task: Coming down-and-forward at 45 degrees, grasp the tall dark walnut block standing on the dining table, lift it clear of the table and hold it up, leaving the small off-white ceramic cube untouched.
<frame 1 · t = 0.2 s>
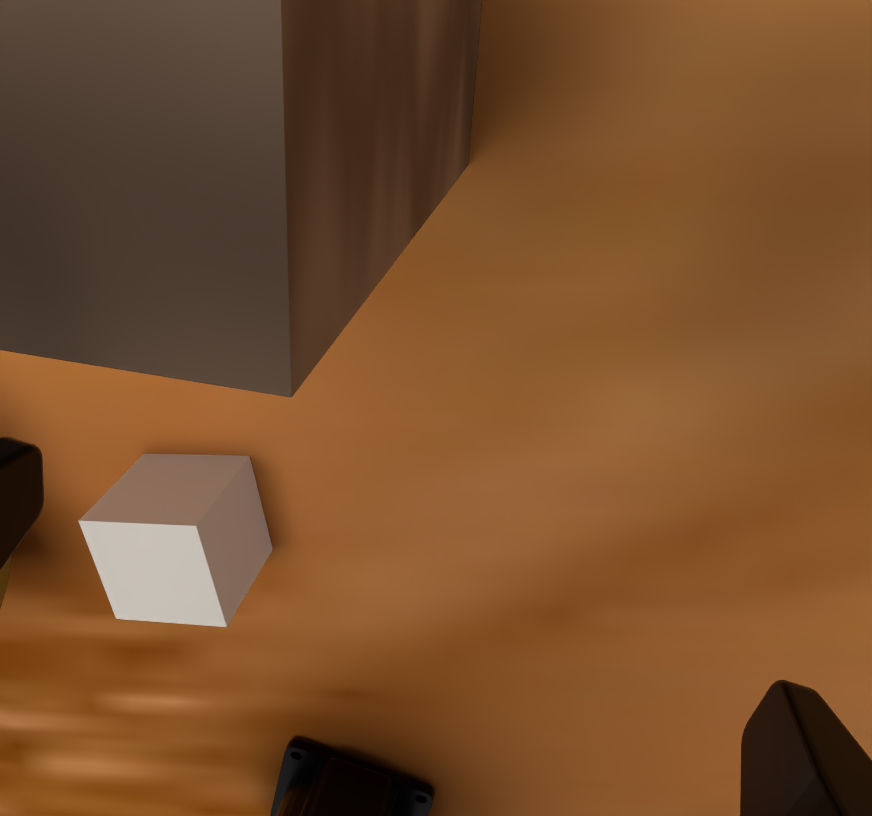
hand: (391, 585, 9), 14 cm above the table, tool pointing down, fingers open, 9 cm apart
walnut block: (378, 52, 20), on the table
ceramic cube: (210, 501, 28), on the table
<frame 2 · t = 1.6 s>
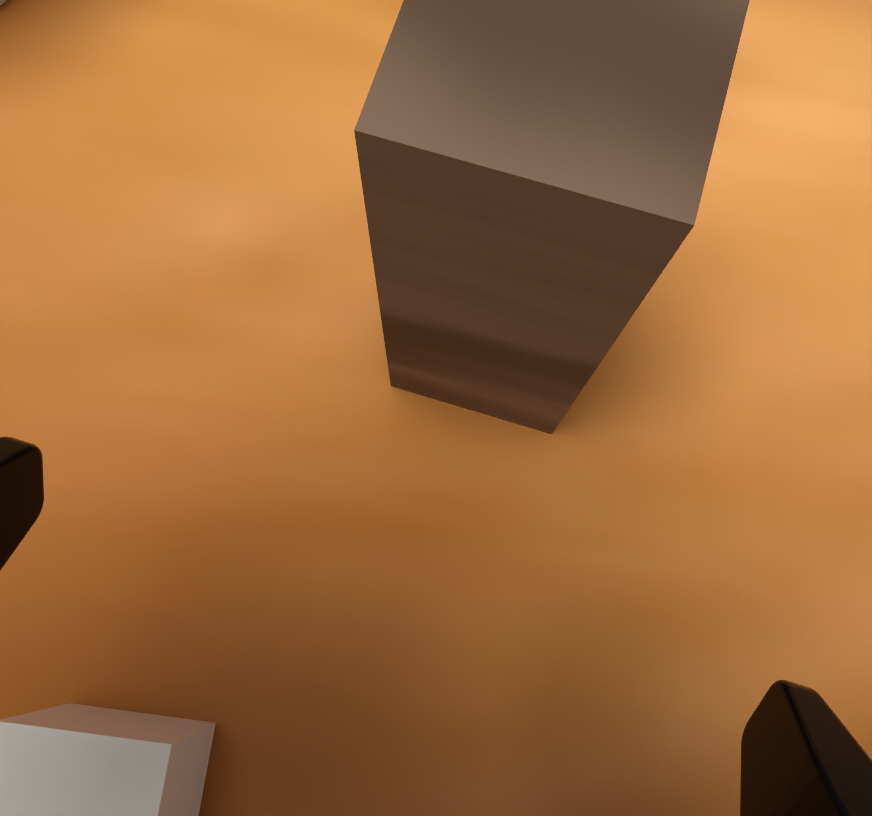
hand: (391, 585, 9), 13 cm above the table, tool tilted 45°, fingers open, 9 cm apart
walnut block: (493, 334, 25), on the table
ceramic cube: (127, 792, 21), on the table
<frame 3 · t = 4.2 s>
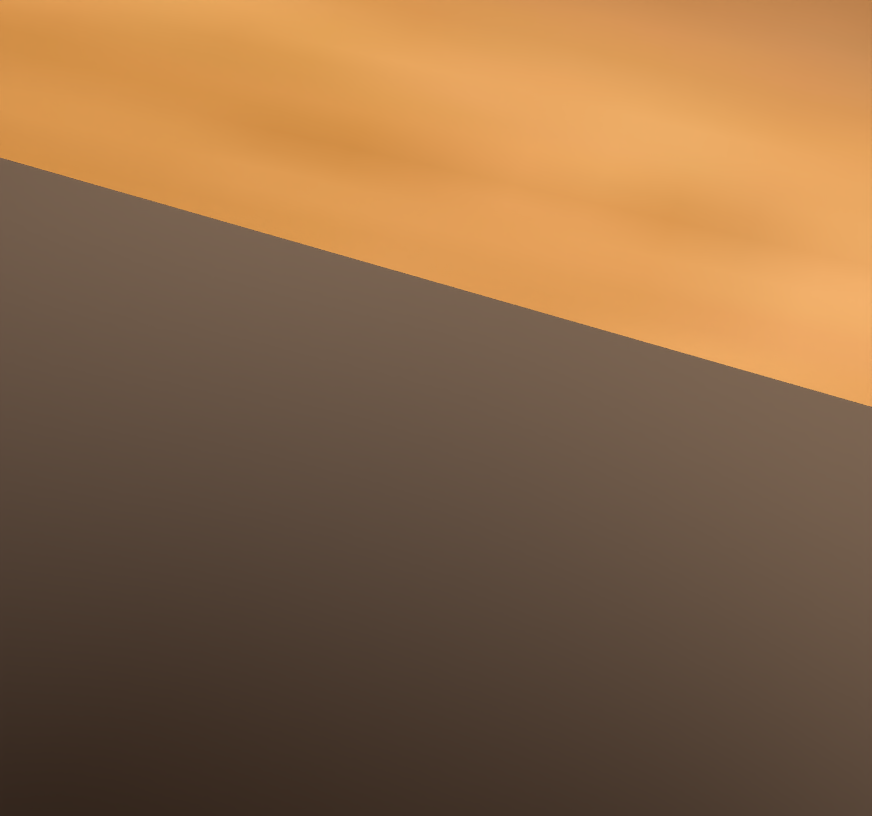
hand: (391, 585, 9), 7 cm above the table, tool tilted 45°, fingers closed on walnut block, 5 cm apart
walnut block: (380, 673, 15), on the table, touching gripper
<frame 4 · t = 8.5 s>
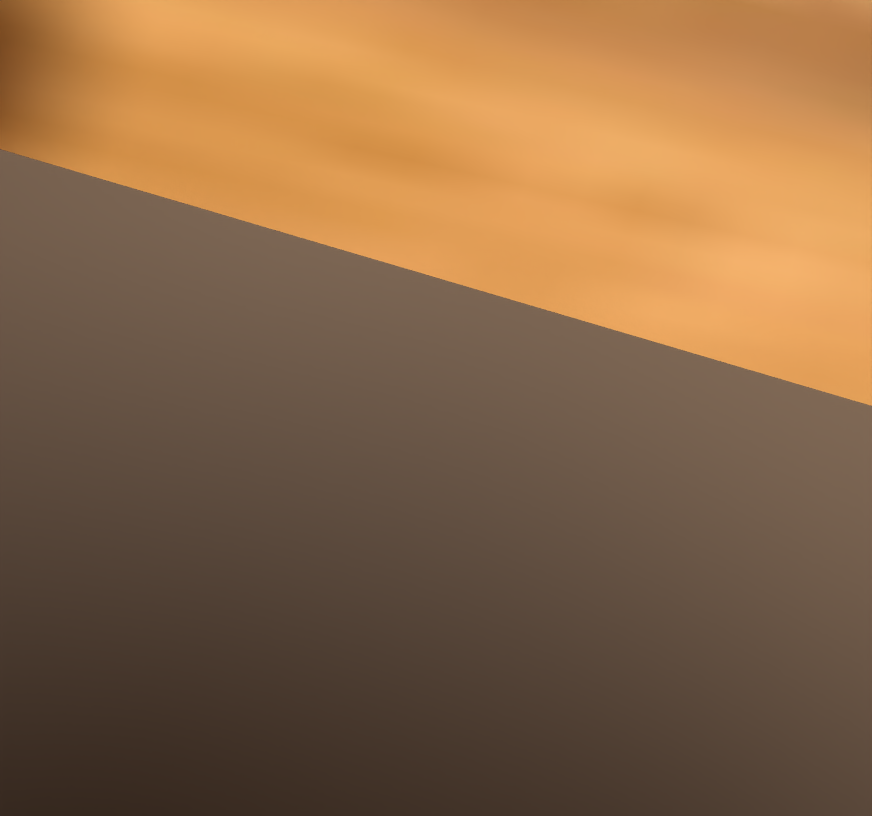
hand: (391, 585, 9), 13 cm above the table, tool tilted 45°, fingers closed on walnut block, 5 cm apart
walnut block: (388, 675, 16), point 7 cm above the table, touching gripper
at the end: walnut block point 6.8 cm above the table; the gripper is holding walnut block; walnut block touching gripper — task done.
